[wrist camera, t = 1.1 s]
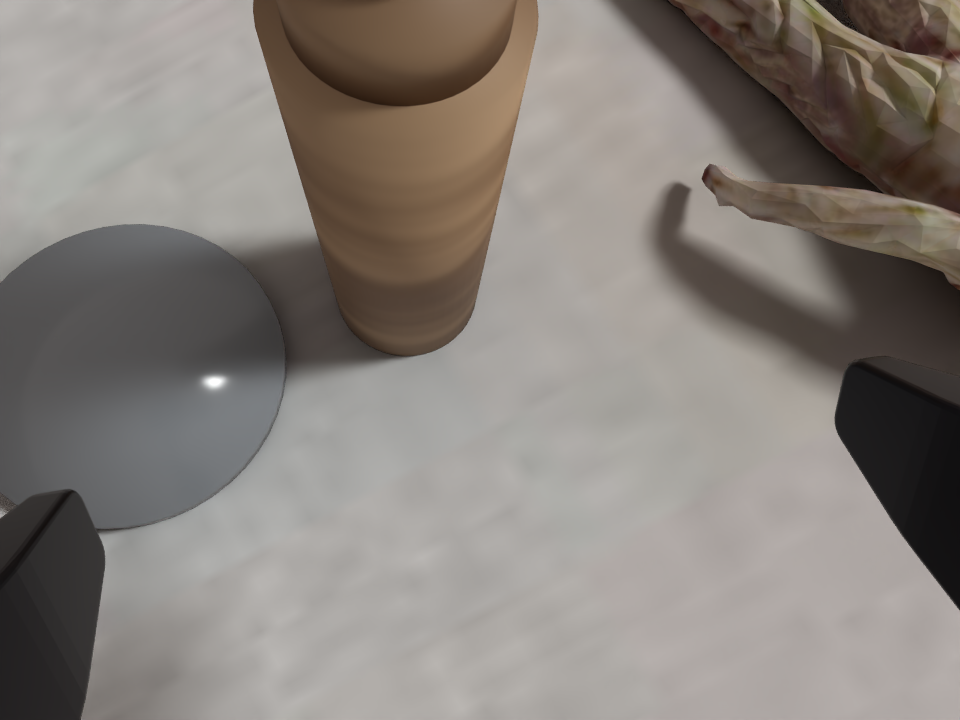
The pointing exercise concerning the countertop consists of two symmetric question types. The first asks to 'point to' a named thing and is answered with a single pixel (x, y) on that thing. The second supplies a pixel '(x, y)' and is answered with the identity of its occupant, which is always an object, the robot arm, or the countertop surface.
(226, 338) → the coaster
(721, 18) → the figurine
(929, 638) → the countertop surface
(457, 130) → the pepper mill
